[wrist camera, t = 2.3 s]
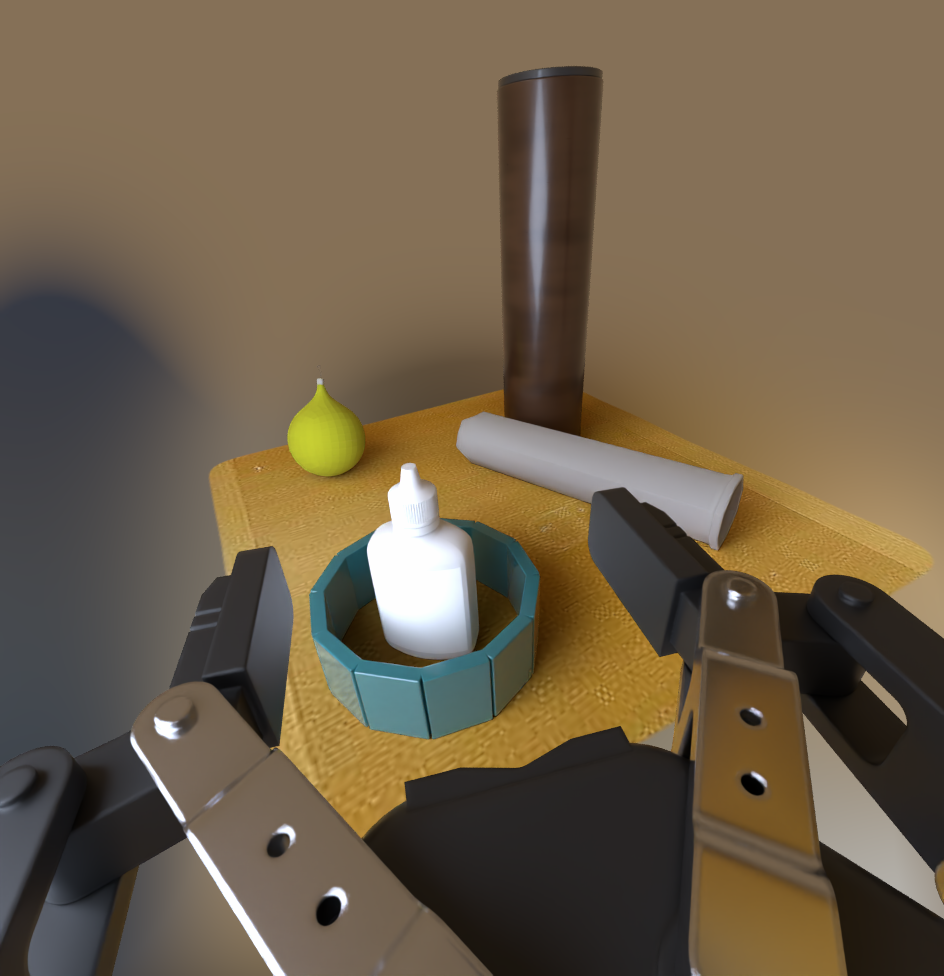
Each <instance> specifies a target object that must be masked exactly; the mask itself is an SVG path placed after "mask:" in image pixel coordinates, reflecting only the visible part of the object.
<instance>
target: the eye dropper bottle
mask: <svg viewBox="0 0 944 976" xmlns="http://www.w3.org/2000/svg"><path fill="white" fill-rule="evenodd" d="M388 500H389V506H390V511H391V517H392V521H389V522H387V523H385V524H383V525H381V526H380V527H378V529H377V530H376V531H375V532H374V534H373V535H372V537H371V539H370V541H369V543H368V548H367V555H368V561H369V566H370V571H371V576H372V581H373V586H374V590H375V595H376V600H377V605H378V609H379V614H380V618H381V623H382V628H383V632H384V637H385V639H386V641H387V642H388V644H389V645H390V646H392V647H393V648H395V649H397V650H399V651H401V652H403V653H405V654H408V655H411V656H414V657H418V658H424V659H433V660H444V659H452V658H456V657H459V656H462V655H466V654H469V653H471V652H472V651H473V649H474V648H475V644H476V641H477V637H478V633H479V618H478V603H477V589H476V576H475V562H474V552H473V544H472V539H471V537H470V536H469V535H468V534H467V533H466V532H465V531H464V530H462V529H461V528H459V527H457V526H455V525H453V524H451V523H449V522H447V521H444V520H442V519H440V517H439V508H438V499H437V490H436V487H435V485H434V484H432V483H431V482H429V481H427V480H423V479H420V476H419V473H418V470H417V468H416V465H415V464H413V463H406V464H404V465H402V467H401V481H400V482H399V483H397V484H395V485H394V486H393V487H392V488H391V489H390V490H389V492H388Z"/></svg>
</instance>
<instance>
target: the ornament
mask: <svg viewBox="0 0 944 976" xmlns="http://www.w3.org/2000/svg"><path fill="white" fill-rule="evenodd" d="M317 385H318V386H317V391H316V394H315V396H314V397H313V399H312V400H311V401H310V402H309V403H308V404H307V405H306V406H305V407H304V408H303V409H301V410H300V411H299V412H298V414H296V415H295V417H294V418H293V420H292V422H291V424H290V426H289V430H288V446H289V450H290V452H291V454H292V456H293V458H294V459H295V461H296V462H297V463H298V464H299V465H300V466H301V467H302V468H303V469H305V470H307V471H308V472H310V473H313V474H316V475H318V476H336V475H340V474H342V473H345V472H346V471H348V470H350V469H351V468H352V467H354V466H355V465H356V464H357V462H358V461H359V460H360V458H361V456H362V454H363V451H364V448H365V433H364V429H363V426H362V424H361V422H360V420H359V419H358V417H357V416H356V415H355V414H354V413H353V412H352V411H351V410H349V409H348V408H346V407H345V406H343V405H342V404H340V403H339V402H337V401H336V400H334V399H333V398H332V397H331V396H330V395H329V394H328V392H327V391H326V389H325V387H324V379H317Z"/></svg>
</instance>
